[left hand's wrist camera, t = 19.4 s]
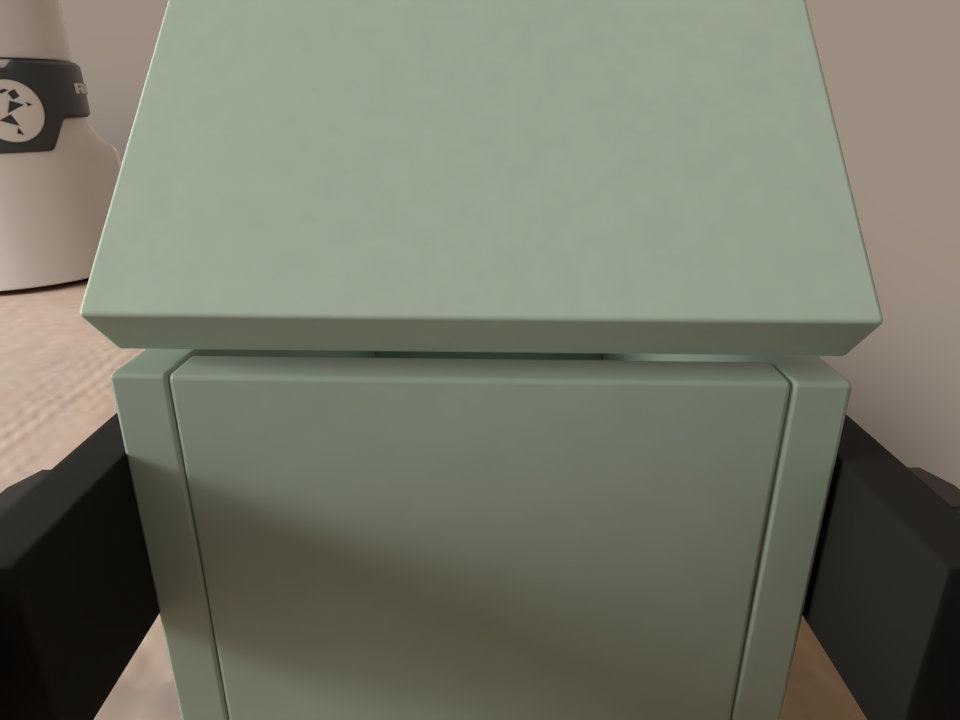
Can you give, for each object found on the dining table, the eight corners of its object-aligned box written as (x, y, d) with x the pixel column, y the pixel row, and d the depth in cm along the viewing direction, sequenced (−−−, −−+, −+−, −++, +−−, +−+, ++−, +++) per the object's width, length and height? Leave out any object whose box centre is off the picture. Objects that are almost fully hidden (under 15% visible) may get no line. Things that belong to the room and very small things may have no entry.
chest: (363, 431, 26) (348, 202, 23) (614, 434, 26) (633, 204, 23) (203, 828, 12) (106, 373, 9) (755, 843, 12) (855, 383, 9)
